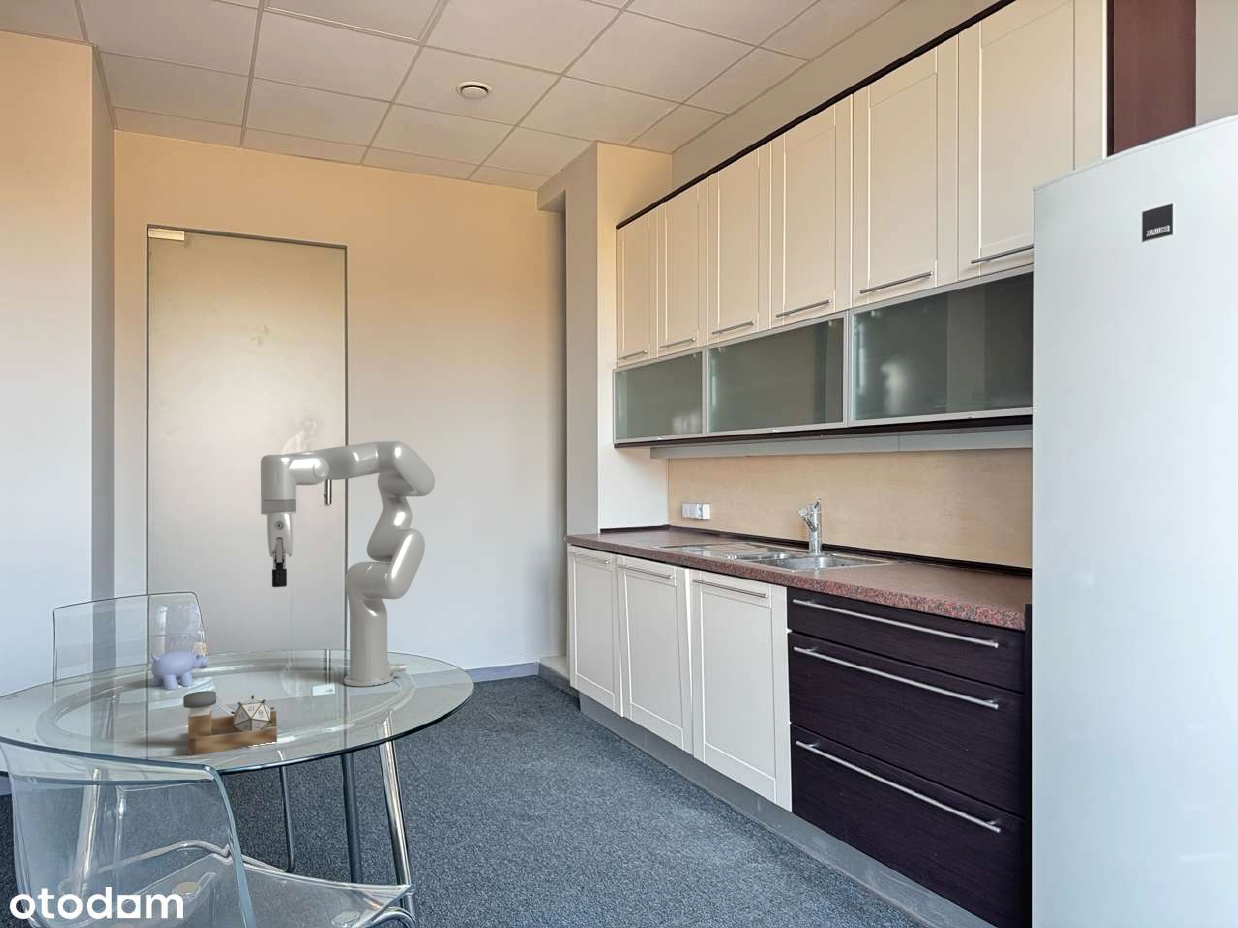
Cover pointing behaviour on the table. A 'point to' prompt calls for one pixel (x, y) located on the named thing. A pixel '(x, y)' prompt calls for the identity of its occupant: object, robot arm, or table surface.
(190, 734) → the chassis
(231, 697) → the table surface
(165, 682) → the hippopotamus toy
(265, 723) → the game die
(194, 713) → the wheel
